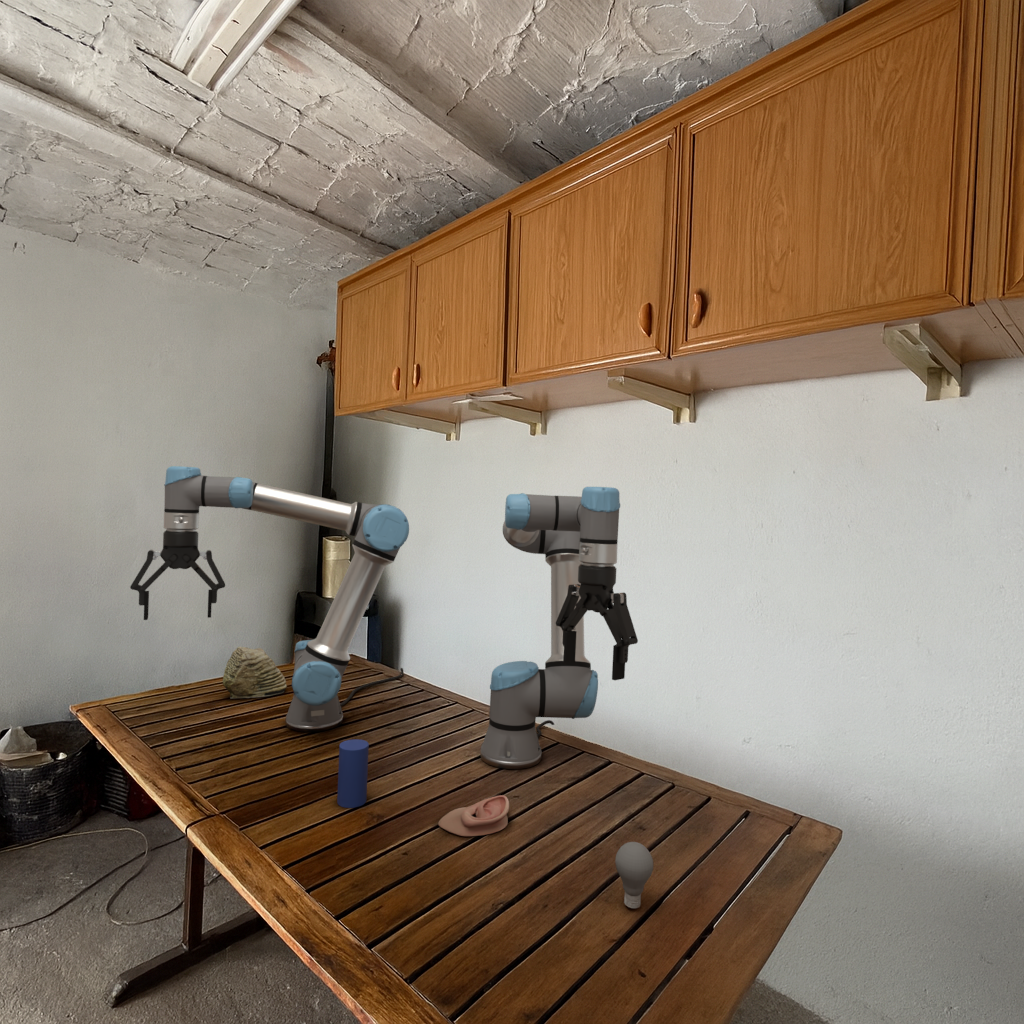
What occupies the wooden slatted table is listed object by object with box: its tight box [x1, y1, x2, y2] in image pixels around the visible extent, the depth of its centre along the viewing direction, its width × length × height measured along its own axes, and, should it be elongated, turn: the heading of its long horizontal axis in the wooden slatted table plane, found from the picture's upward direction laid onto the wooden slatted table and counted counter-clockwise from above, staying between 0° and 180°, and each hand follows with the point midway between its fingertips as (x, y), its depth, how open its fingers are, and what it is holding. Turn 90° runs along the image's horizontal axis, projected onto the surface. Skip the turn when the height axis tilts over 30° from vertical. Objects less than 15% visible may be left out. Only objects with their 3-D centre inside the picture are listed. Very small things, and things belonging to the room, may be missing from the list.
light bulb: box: [614, 841, 654, 909], centre depth 101 cm, size 6×6×10 cm
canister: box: [336, 738, 370, 809], centre depth 132 cm, size 6×6×12 cm
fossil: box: [222, 646, 288, 699], centre depth 198 cm, size 9×18×15 cm, turn 132°
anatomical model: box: [437, 794, 510, 837], centre depth 126 cm, size 13×4×12 cm
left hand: (178, 617), depth 153 cm, fingers open, 13 cm apart
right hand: (592, 670), depth 126 cm, fingers open, 13 cm apart
